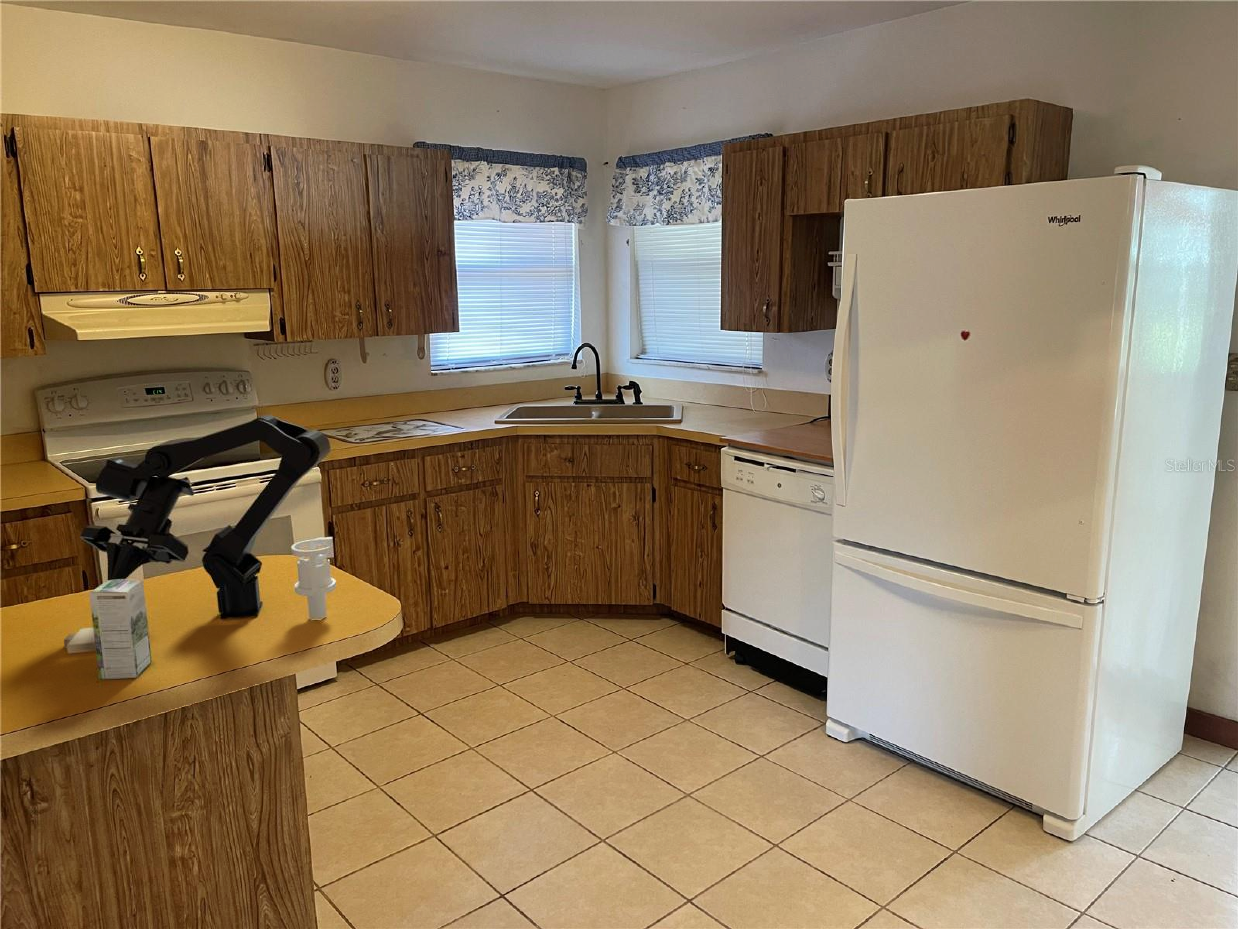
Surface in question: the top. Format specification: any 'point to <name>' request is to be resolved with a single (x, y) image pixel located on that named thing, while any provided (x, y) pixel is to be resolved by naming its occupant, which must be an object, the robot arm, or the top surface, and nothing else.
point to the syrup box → (120, 628)
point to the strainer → (314, 574)
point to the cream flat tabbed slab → (80, 641)
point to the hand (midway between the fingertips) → (111, 587)
